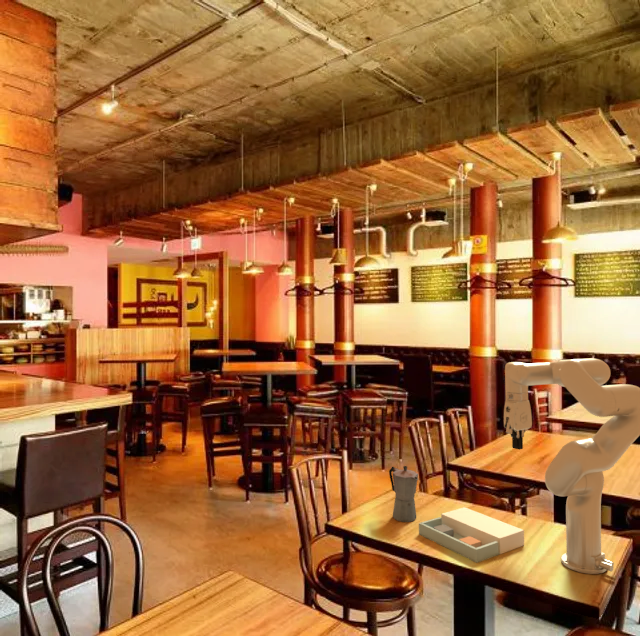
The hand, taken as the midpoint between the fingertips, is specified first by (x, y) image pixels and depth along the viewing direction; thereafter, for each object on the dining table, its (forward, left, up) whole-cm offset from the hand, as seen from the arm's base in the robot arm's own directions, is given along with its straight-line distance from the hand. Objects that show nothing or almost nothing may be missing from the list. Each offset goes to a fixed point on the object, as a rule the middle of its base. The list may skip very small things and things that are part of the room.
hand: (517, 448), depth 188 cm
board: (+4, +15, -29) cm, 33 cm away
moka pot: (+32, +26, -29) cm, 51 cm away
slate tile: (+11, +26, -26) cm, 39 cm away
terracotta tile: (-1, +26, -26) cm, 37 cm away
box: (+4, +27, -29) cm, 40 cm away
